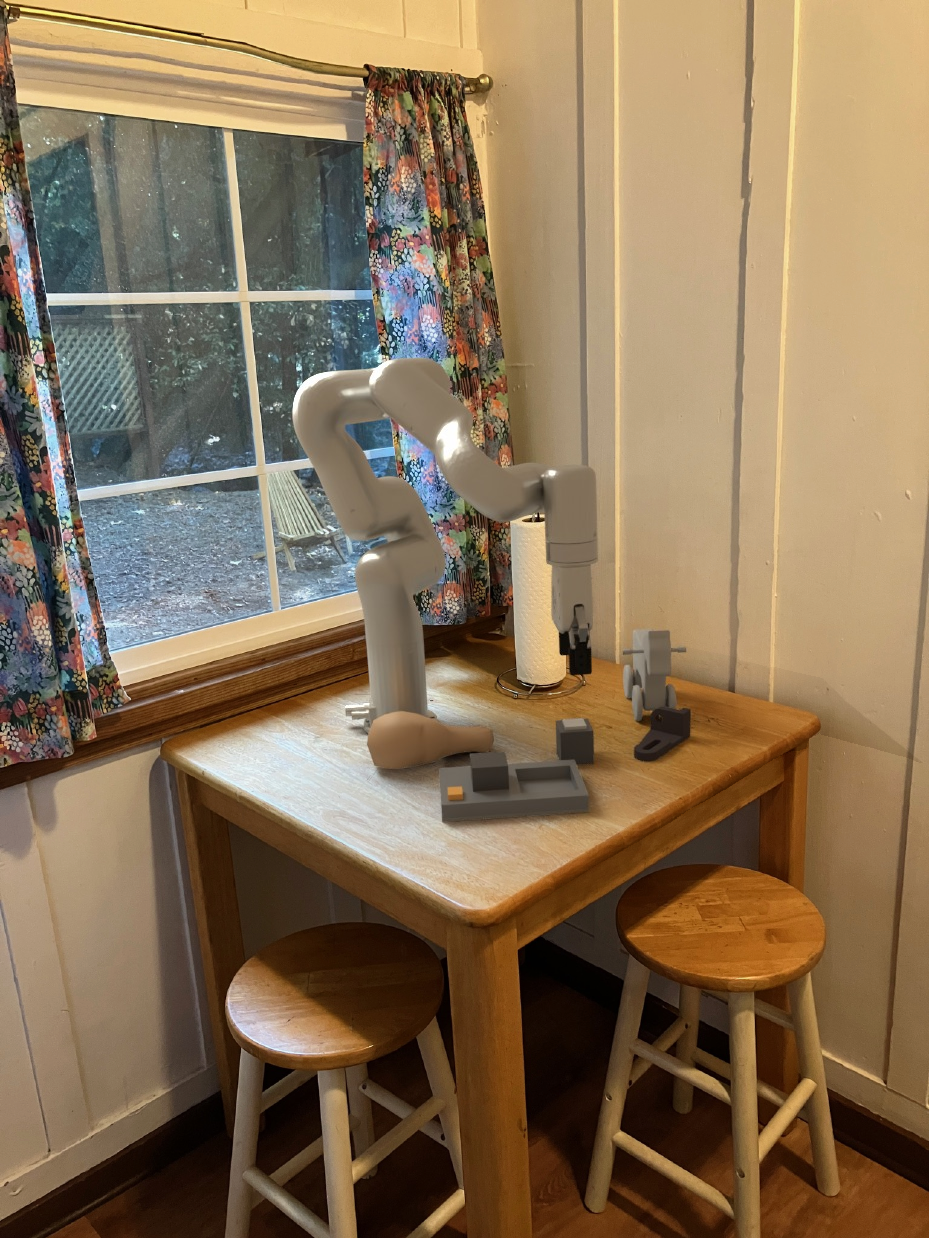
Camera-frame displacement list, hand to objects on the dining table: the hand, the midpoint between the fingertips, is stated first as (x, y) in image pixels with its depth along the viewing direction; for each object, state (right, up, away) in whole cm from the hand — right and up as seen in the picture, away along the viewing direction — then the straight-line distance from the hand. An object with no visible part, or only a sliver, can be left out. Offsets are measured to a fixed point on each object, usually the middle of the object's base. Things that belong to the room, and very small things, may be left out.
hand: (575, 663), depth 144 cm
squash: (-22, -16, +6) cm, 28 cm away
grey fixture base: (-10, -19, -8) cm, 22 cm away
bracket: (+13, -14, +8) cm, 21 cm away
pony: (+16, -9, +22) cm, 29 cm away
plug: (+1, -15, +4) cm, 15 cm away
